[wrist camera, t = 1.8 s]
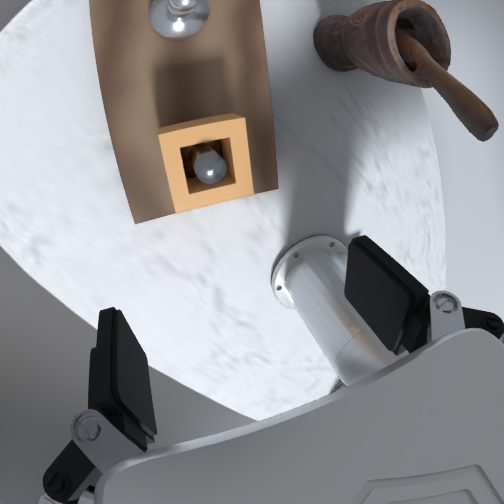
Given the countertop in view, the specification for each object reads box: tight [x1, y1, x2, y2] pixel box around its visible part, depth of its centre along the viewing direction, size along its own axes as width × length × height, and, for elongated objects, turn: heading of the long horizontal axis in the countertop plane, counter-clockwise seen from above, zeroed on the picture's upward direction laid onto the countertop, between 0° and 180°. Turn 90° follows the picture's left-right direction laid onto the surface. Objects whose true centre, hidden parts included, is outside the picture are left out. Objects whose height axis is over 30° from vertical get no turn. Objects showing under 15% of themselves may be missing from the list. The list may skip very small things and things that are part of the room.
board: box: [89, 0, 279, 224], centre depth 25 cm, size 16×26×2 cm, turn 6°
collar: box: [158, 113, 254, 214], centre depth 24 cm, size 7×7×4 cm
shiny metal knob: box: [180, 139, 226, 184], centre depth 25 cm, size 5×5×7 cm
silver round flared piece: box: [149, 0, 210, 40], centre depth 17 cm, size 5×5×7 cm
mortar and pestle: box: [314, 0, 498, 142], centre depth 20 cm, size 12×9×20 cm
